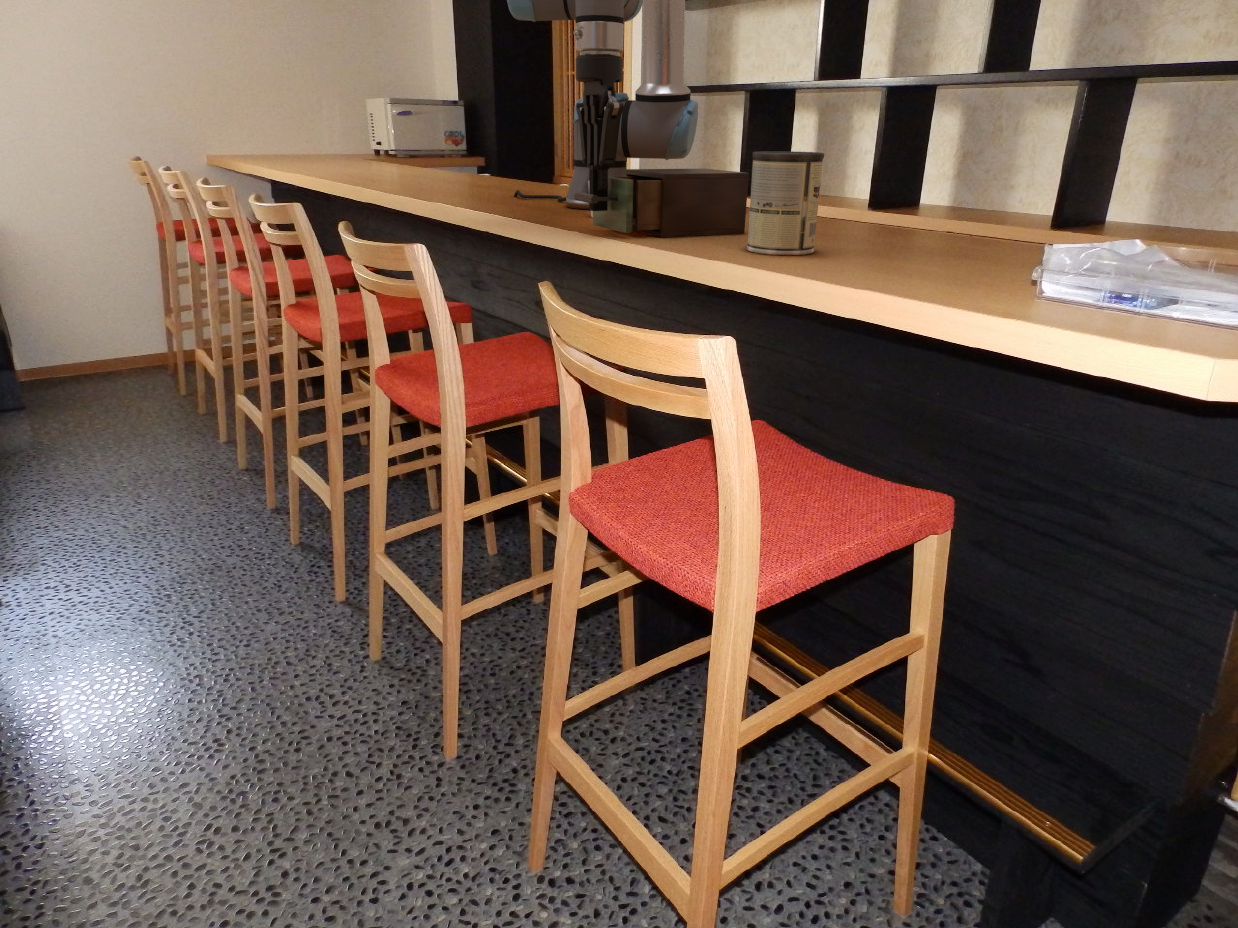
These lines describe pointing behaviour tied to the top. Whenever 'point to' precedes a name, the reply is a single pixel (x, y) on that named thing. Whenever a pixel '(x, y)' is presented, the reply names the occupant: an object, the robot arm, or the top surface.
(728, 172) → the cabinet
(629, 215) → the drawer
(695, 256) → the top surface
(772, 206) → the coffee can
